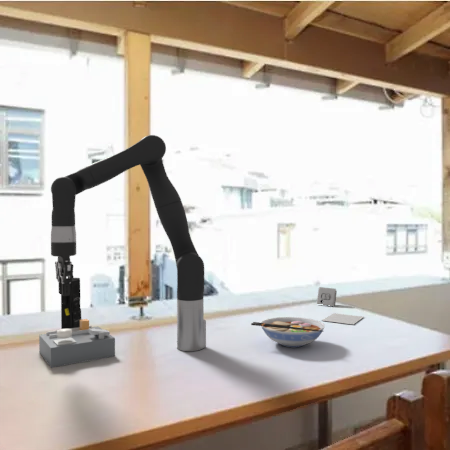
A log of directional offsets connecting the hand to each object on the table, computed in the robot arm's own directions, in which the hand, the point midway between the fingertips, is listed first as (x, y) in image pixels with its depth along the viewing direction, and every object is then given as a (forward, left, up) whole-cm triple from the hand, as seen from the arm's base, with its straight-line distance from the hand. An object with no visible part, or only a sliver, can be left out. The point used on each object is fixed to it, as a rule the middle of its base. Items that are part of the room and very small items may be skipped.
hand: (64, 294), depth 138 cm
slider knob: (-9, -10, -15) cm, 20 cm away
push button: (0, 0, -13) cm, 13 cm away
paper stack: (-115, +17, -22) cm, 118 cm away
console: (-5, -5, -21) cm, 22 cm away
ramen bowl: (-72, +27, -21) cm, 80 cm away
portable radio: (-8, -25, -21) cm, 34 cm away
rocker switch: (-11, 0, -14) cm, 18 cm away
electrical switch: (-134, -15, -22) cm, 137 cm away
